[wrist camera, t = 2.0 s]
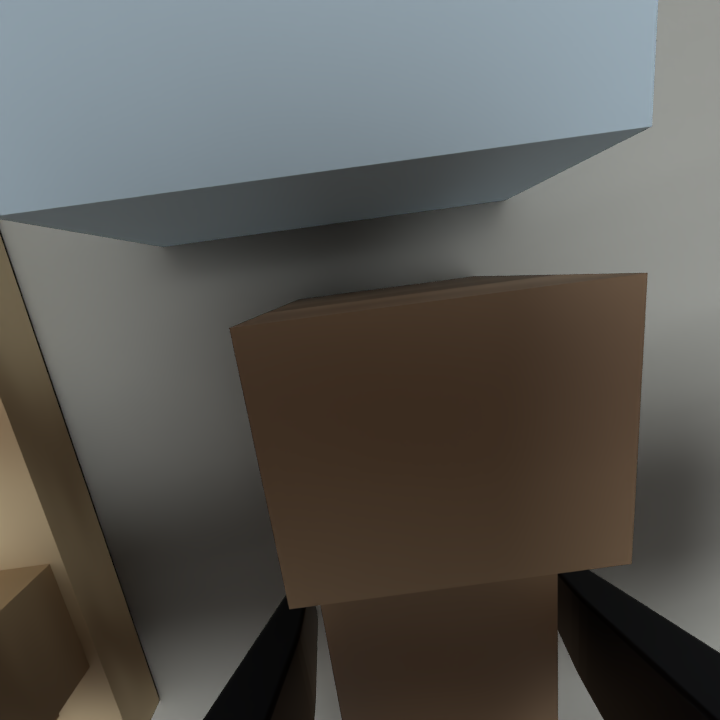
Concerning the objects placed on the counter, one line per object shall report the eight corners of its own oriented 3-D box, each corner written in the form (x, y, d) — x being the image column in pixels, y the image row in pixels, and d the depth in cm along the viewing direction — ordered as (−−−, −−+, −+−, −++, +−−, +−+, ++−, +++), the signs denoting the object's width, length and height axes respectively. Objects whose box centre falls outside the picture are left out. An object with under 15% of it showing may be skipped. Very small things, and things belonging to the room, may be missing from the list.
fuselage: (494, 697, 11) (607, 1021, 6) (368, 713, 11) (383, 1051, 6) (471, 276, 8) (647, 273, 3) (300, 298, 8) (228, 328, 3)
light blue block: (502, 201, 8) (651, 126, 4) (166, 247, 8) (-12, 217, 4) (493, -16, 7) (677, -392, 3) (115, 36, 7) (-183, -272, 3)
